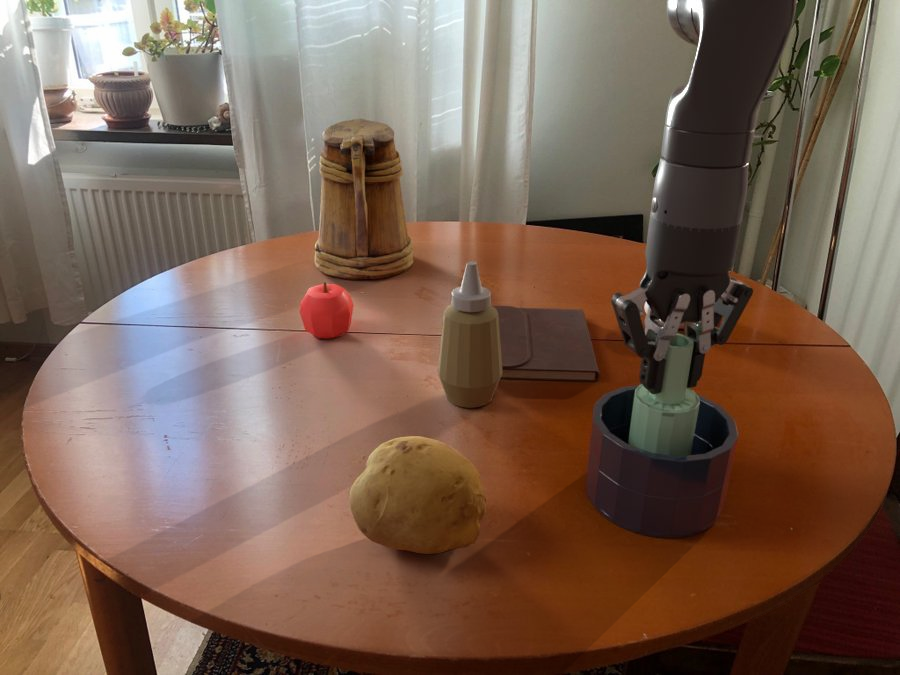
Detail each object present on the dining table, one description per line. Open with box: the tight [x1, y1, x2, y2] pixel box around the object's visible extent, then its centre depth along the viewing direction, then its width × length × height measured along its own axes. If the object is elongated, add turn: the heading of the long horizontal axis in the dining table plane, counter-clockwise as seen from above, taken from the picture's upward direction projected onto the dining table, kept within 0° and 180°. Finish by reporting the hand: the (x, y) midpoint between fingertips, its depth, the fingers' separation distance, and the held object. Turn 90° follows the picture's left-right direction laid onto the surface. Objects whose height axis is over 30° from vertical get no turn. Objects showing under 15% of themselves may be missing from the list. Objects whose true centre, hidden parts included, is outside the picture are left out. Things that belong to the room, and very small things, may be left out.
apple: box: [299, 281, 355, 340], centre depth 109 cm, size 8×8×8 cm
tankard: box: [313, 117, 415, 281], centre depth 129 cm, size 18×24×25 cm
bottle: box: [628, 332, 700, 456], centre depth 72 cm, size 6×6×16 cm
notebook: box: [492, 305, 601, 383], centre depth 106 cm, size 15×20×2 cm
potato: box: [348, 435, 487, 555], centre depth 69 cm, size 10×12×10 cm
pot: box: [585, 384, 739, 539], centre depth 74 cm, size 14×14×9 cm
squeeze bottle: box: [437, 261, 503, 409], centre depth 90 cm, size 8×8×18 cm
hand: (669, 385), depth 71 cm, fingers closed on bottle, 3 cm apart
